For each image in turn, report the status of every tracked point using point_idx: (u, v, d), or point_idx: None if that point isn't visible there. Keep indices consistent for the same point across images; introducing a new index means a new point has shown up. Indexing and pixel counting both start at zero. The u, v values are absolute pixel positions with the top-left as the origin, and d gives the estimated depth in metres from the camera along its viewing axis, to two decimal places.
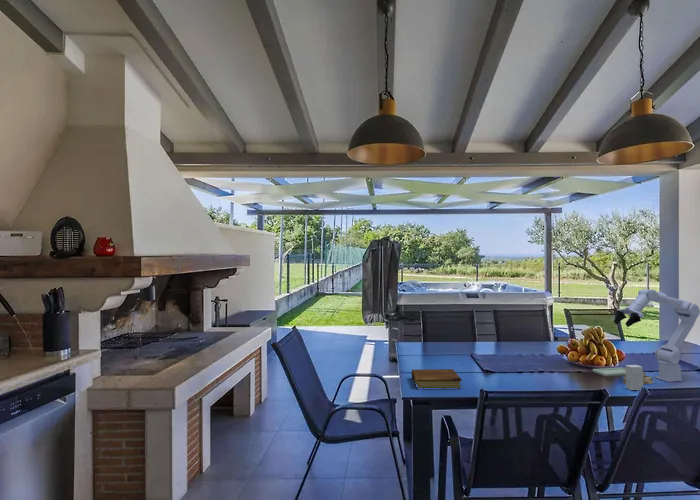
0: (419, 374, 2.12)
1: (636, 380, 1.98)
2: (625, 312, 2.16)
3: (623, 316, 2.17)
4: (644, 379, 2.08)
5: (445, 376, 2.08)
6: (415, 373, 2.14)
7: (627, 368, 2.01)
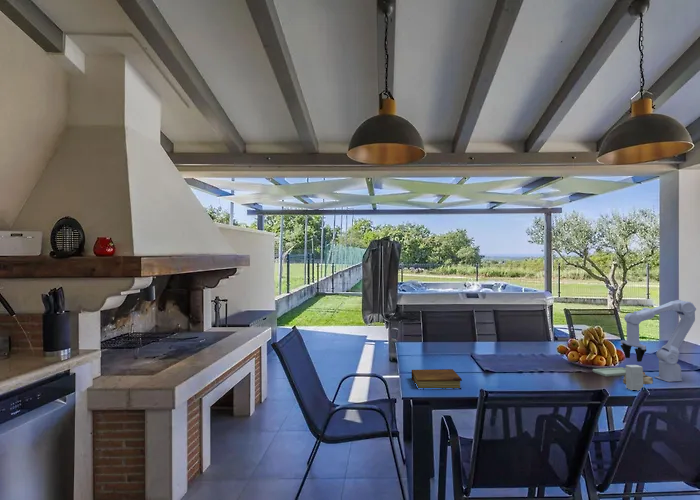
0: (419, 374, 2.12)
1: (636, 380, 1.98)
2: None
3: (629, 347, 2.23)
4: (644, 379, 2.08)
5: (445, 376, 2.09)
6: (415, 373, 2.14)
7: (627, 368, 2.01)
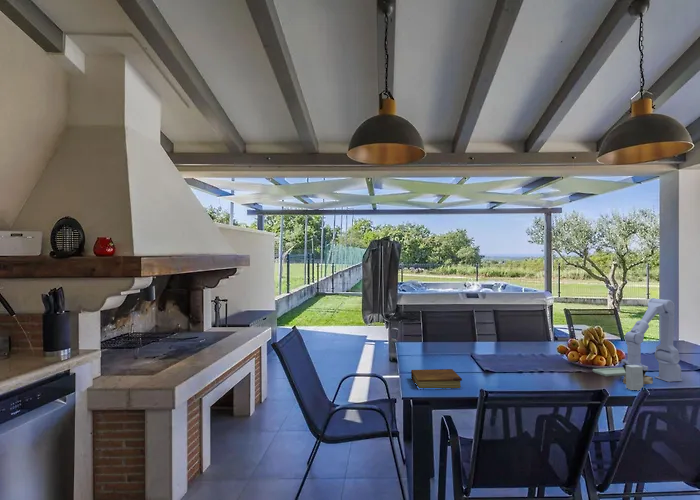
0: (419, 374, 2.12)
1: (636, 380, 1.98)
2: None
3: None
4: (644, 379, 2.08)
5: (445, 376, 2.09)
6: (415, 373, 2.14)
7: (627, 368, 2.01)
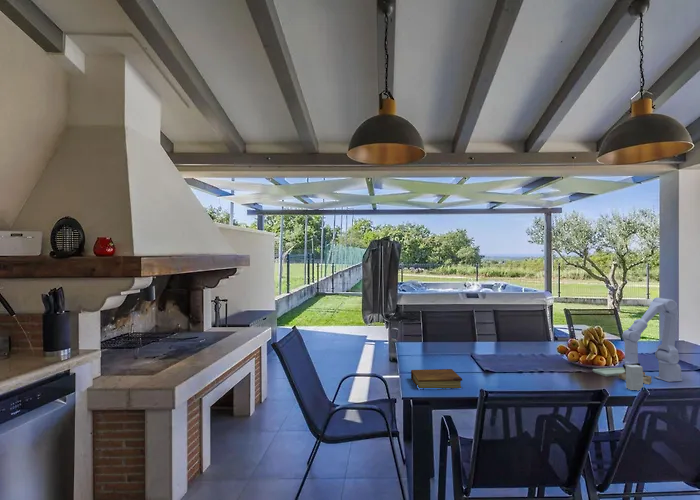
0: (419, 374, 2.12)
1: (636, 380, 1.98)
2: None
3: None
4: None
5: (446, 376, 2.09)
6: (415, 373, 2.14)
7: (627, 368, 2.01)
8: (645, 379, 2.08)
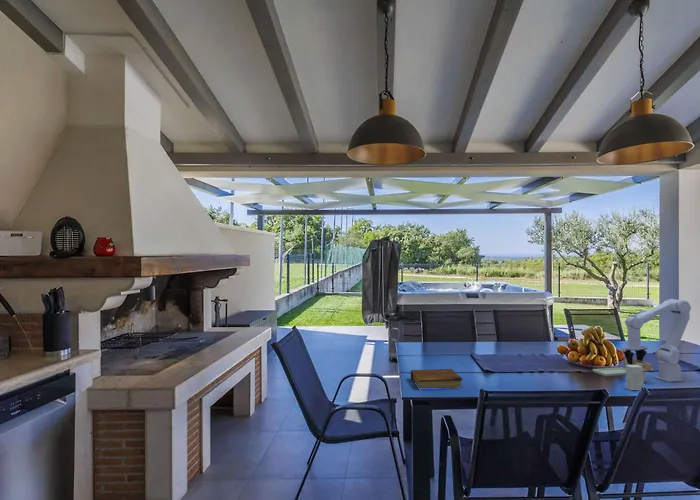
0: (419, 374, 2.12)
1: (636, 380, 1.98)
2: None
3: (640, 352, 2.16)
4: (635, 363, 2.13)
5: (446, 376, 2.09)
6: (415, 373, 2.14)
7: (627, 368, 2.01)
8: (641, 365, 2.09)
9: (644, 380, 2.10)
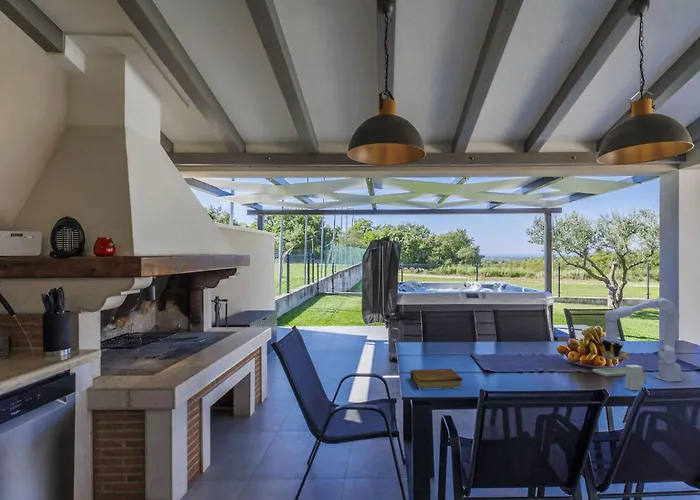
0: (420, 374, 2.12)
1: (636, 380, 1.98)
2: None
3: (609, 343, 2.31)
4: (621, 354, 2.26)
5: (446, 376, 2.09)
6: (415, 374, 2.13)
7: (627, 368, 2.01)
8: (627, 354, 2.26)
9: (644, 380, 2.10)
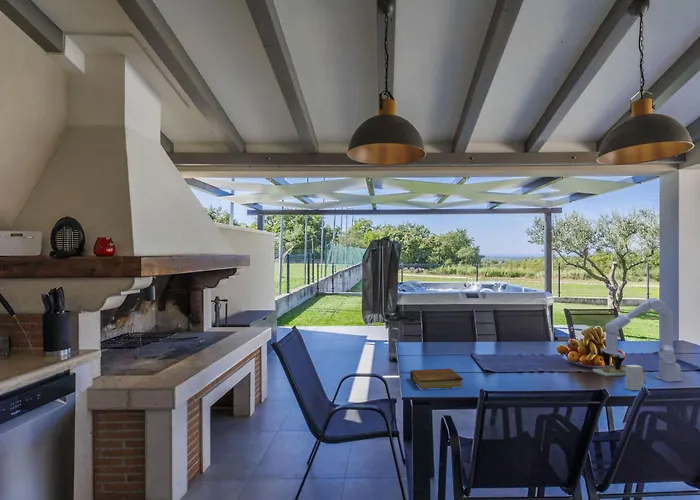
0: (420, 375, 2.11)
1: (636, 380, 1.98)
2: None
3: (608, 355, 2.31)
4: (622, 368, 2.25)
5: (446, 376, 2.09)
6: (415, 374, 2.13)
7: (627, 368, 2.01)
8: None
9: (644, 380, 2.10)
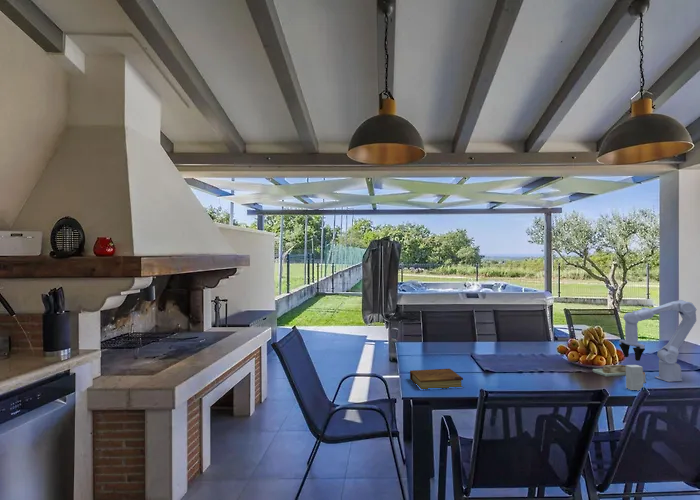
0: (420, 375, 2.11)
1: (636, 380, 1.98)
2: None
3: (627, 346, 2.26)
4: (622, 368, 2.25)
5: (446, 376, 2.09)
6: (415, 374, 2.13)
7: (627, 368, 2.01)
8: None
9: (644, 380, 2.10)
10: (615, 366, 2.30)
